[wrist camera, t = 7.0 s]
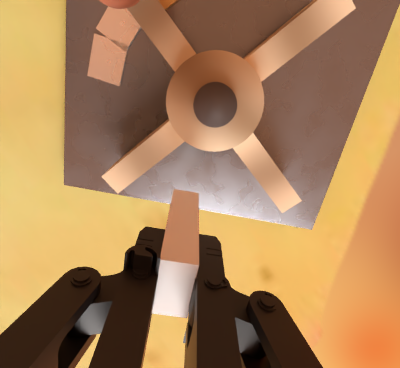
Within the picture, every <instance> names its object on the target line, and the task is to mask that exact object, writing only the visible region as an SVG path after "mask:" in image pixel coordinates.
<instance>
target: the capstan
mask: <svg viewBox="0 0 400 368" xmlns="http://www.w3.org/2000/svg"><path fill="white" fill-rule="evenodd" d="M99 1H100V2H102V3H103V4H105V5H107V6H109V7H112V8H115V9H126V8H127V9H128V11H129V12H130V13H131V14H132V16H133V17H134V18H135V20H136V21H137V22H138V24H139V25H140V26H141V28H142V29H143V30H144V32H145V33H146V34H147V36H148V37H149V38H150V40H151V41H152V42H153V44H154V45H155V46H156V47H157V49H158V50H159V51H160V53H161V54H162V55H163V57H164V58H165V59H166V61H167V62H168V63H169V65H170V66H171V67H172V69H173V70H174V71H175V73H174V75H173V76H172V78H171V80H170V83H169V86H168V89H167V95H166V109H167V114H168V118H169V119H168V120H166V121H165V122H164V123H163V124H162V125H160V126H159V127H158V128H157V129H155V130H154V131H153V132H152V133H151V134H149V135H148V136H147V137H146V138H144V139H143V140H142V141H141V142H140V143H138V144H137V145H136V146H135V147H134V148H132V149H131V150H130V151H129V152H127V153H126V154H125V155H124V156H123V157H121V158H120V159H119V160H118V161H116V162H115V163H114V164H113V165H112V167H111V168H110V169H109V170H108V171H107V172H106V173H105V174H104V175H103V176H102V178H103V179H104V180H105V181H106V182H107V183H108V184H109V185H110V186H111V187H112V188H113V189H114V190H115V191H116V192H117V194H118V193H119V192H121V191H122V190H123V189H125V188H126V187H127V186H128V185H130V184H131V183H132V182H134V181H135V180H136V179H137V178H139V177H140V176H141V175H143V174H144V173H145V172H146V171H148V170H149V169H150V168H152V167H153V166H154V165H155V164H157V163H158V162H159V161H160V160H162V159H163V158H164V157H166V156H167V155H168V154H169V153H171V152H172V151H173V150H175V149H176V148H177V147H178V146H180V145H181V144H182V143H184V142H186V143H188V144H189V145H191V146H193V147H195V148H197V149H200V150H204V151H212V152H216V151H224V150H228V149H231V148H233V149H234V151H235V152H236V153H237V154H238V156H239V157H240V158H241V160H242V161H243V162H244V164H245V165H246V166H247V168H248V169H249V170H250V172H251V173H252V174H253V176H254V177H255V178H256V180H257V181H258V182H259V184H260V185H261V186H262V187H263V189H264V190H265V191H266V193H267V194H268V195H269V197H270V198H271V199H272V201H273V202H274V203H275V205H276V206H277V207H278V209H279V210H280V211H281V213H284V212H285V211H287V210H288V209H290V208H291V207H293V206H295V205H296V204H298V203H299V202H301V201H302V200H301V199H300V197H299V196H298V195H297V193H296V192H295V190H294V189H293V188H292V186H291V185H290V184H289V182H288V181H287V179H286V178H285V177H284V175H283V174H282V172H281V171H280V170H279V168H278V167H277V165H276V164H275V163H274V161H273V160H272V158H271V157H270V156H269V154H268V153H267V151H266V150H265V149H264V147H263V146H262V144H261V143H260V142H259V140H258V139H257V138H256V136H255V135H254V133H253V132H254V130H255V129H256V127H257V126H258V124H259V122H260V119H261V117H262V113H263V108H264V92H263V87H262V83H261V82H262V81H263V80H264V79H266V78H267V77H268V76H270V75H271V74H272V73H273V72H275V71H276V70H277V69H279V68H280V67H281V66H282V65H284V64H285V63H286V62H288V61H289V60H290V59H291V58H293V57H294V56H295V55H297V54H298V53H299V52H300V51H302V50H303V49H304V48H306V47H307V46H308V45H309V44H311V43H312V42H313V41H315V40H316V39H317V38H318V37H320V36H321V35H322V34H323V33H325V32H326V31H327V30H329V29H330V28H331V27H332V26H334V25H335V24H336V23H338V22H339V21H340V20H341V19H343V18H344V17H345V16H347V15H348V14H349V13H350V12H352V11H353V10H354V9H356V7H355V5H354V3H353V1H352V0H313V1H312V2H311V3H309V4H308V5H307V6H306V7H304V8H303V9H302V10H301V11H300V12H298V13H297V14H296V15H295V16H293V17H292V18H291V19H290V20H289V21H287V22H286V23H285V24H284V25H282V26H281V27H280V28H279V29H278V30H276V31H275V32H274V33H273V34H271V35H270V36H269V37H268V38H267V39H265V40H264V41H263V42H262V43H261V44H259V45H258V46H257V47H256V48H254V49H253V50H252V51H251V52H250V53H248V54H247V55H246V56H245V57H243V58H242V57H240V56H238V55H236V54H234V53H231V52H228V51H223V50H209V51H204V52H201V53H198V54H196V52H195V51H194V50H193V48H192V47H191V46H190V44H189V43H188V41H187V40H186V39H185V37H184V36H183V34H182V33H181V32H180V30H179V29H178V27H177V26H176V25H175V23H174V22H173V20H172V19H171V18H170V16H169V15H168V13H167V12H166V11H165V9H164V8H163V6H162V5H161V4H160V2H159V1H158V0H99Z"/></svg>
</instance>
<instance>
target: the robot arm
mask: <svg viewBox="0 0 400 368" xmlns="http://www.w3.org/2000/svg"><path fill="white" fill-rule="evenodd" d="M188 312H189V315H188ZM152 313H153V314H160V315H168V316H176V317H183V318H187V317H188V323H187V328H186V332H185V336H184V341H183V343H185V363H184V368H323V367H322V365H321V364H320V362H319V361H318V359H317V357H316V356H315V354H314V353H313V351H312V350H311V348H310V346H309V345H308V343H307V342H306V340H305V338H304V337H303V335H302V334H301V332H300V330H299V329H298V327H297V326H296V324H295V322H294V321H293V319H292V318H291V316H290V315H289V313H288V311H287V310H286V308H285V307H284V305H283V303H282V302H281V301H280V300H279V299H278V298H277V297H276V296H274V295H273V294H271V293H269V292H266V291H255V292H253V293H252V294H251V295H250V297H249V296H247V295H244V294H242V293H239V292H237V291H235V290H234V289H233V288H231V287H230V283H229V281H228V280H227V279H226V278H225V273H224V265H223V258H222V251H221V243H220V242H219V240H218V239H217V238H216V237H215V236H208V235H202V234H199V193H196V192H190V191H184V190H177V189H173V194H172V199H171V204H170V210H169V215H168V220H167V225H166V230H165V229H158V228H152V227H145V228H144V229H143V230H141V231H140V233H139V236H138V239H137V241H136V245H135V246H133V247H131V248H129V249H128V250H127V251H126V253H125V260H124V270H123V271H122V272H120V273H118V274H115V275H110V276H101V275H100V273H99V272H98V271H97V270H95V269H93V268H90V267H77V268H74V269H71V270H70V271H68V272H67V273H65V274H64V275H63V276H62V277H61V278H60V279H59V280H58V281H57V282H56V283H55V284H53V285H52V286H51V287H50V288H49V289H48V290H47V291H46V292H45V293H44V294H43V295H42V296H41V297H40V298H39V299H38V300H37V301H36V302H34V303H33V304H32V305H31V306H30V307H29V308H28V309H27V310H26V311H25V312H24V313H23V314H22V315H21V316H20V317H19V318H18V319H17V320H15V321H14V322H13V323H12V324H11V325H10V326H9V327H8V328H7V329H6V330H5V331H4V332H3V333H2V334H1V335H0V368H75V367H76V365H77V364H78V362H79V361H80V359H81V358H82V356H83V355H84V353H85V352H86V350H87V349H88V347H89V346H90V344H91V343H92V342H93V340H94V339H95V337H96V334H100V333H101V335H100V338H99V340H98V343H97V346H96V349H95V351H94V354H93V357H92V360H91V363H90V365H89V368H142V366H143V361H144V355H145V349H146V344H147V338H148V333H149V327H150V322H151V315H152Z"/></svg>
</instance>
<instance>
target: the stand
mask: <svg viewBox="0 0 400 368" xmlns="http://www.w3.org/2000/svg"><path fill="white" fill-rule="evenodd" d="M158 1H159V2H160V4H161V5H162V6H163V8H164V9H165V11H166V12H167V13H168V15H169V16H170V18H171V19H172V20H173V22H174V23H175V25H176V26H177V27H178V29H179V30H180V32H181V33H182V34H183V36H184V37H185V39H186V40H187V41H188V43H189V44H190V46H191V47H192V48H193V50H194V51H195V52H196V54H198V53H201V52H204V51H209V50H223V51H228V52H231V53H234V54H236V55H238V56H240V57H242V58H243V57H245V56H246V55H247V54H248V53H250V52H251V51H252V50H253V49H254V48H256V47H257V46H258V45H259V44H261V43H262V42H263V41H264V40H265V39H267V38H268V37H269V36H270V35H271V34H273V33H274V32H275V31H276V30H278V29H279V28H280V27H281V26H282V25H284V24H285V23H286V22H287V21H289V20H290V19H291V18H292V17H293V16H295V15H296V14H297V13H298V12H300V11H301V10H302V9H303V8H304V7H306V6H307V5H308V4H309V3H311V2H312V1H313V0H158ZM352 1H353V3H354V5H355V7H356V9H354V10H353V11H352V12H350V13H349V14H348V15H347V16H345V17H344V18H343V19H341V20H340V21H339V22H338V23H336V24H335V25H334V26H332V27H331V28H330V29H329V30H327V31H326V32H325V33H323V34H322V35H321V36H320V37H318V38H317V39H316V40H315V41H313V42H312V43H311V44H309V45H308V46H307V47H306V48H304V49H303V50H302V51H300V52H299V53H298V54H297V55H295V56H294V57H293V58H291V59H290V60H289V61H288V62H286V63H285V64H284V65H282V66H281V67H280V68H279V69H277V70H276V71H275V72H273V73H272V74H271V75H270V76H268V77H267V78H266V79H264V80H263V81H262V82H261V83H262V87H263V92H264V108H263V113H262V117H261V119H260V122H259V124H258V126H257V127H256V129H255V130H254V132H253V133H254V135H255V136H256V138H257V139H258V140H259V142H260V143H261V144H262V146H263V147H264V149H265V150H266V151H267V153H268V154H269V156H270V157H271V158H272V160H273V161H274V163H275V164H276V165H277V167H278V168H279V170H280V171H281V172H282V174H283V175H284V177H285V178H286V179H287V181H288V182H289V184H290V185H291V186H292V188H293V189H294V190H295V192H296V193H297V195H298V196H299V197H300V199H301V200H302V201H301V202H299V203H298V204H296V205H295V206H293V207H291V208H290V209H288V210H287V211H285V212H284V213H281V211H280V210H279V209H278V207H277V206H276V205H275V203H274V202H273V201H272V199H271V198H270V197H269V195H268V194H267V193H266V191H265V190H264V189H263V187H262V186H261V185H260V184H259V182H258V181H257V180H256V178H255V177H254V176H253V174H252V173H251V172H250V170H249V169H248V168H247V166H246V165H245V164H244V162H243V161H242V160H241V158H240V157H239V156H238V154H237V153H236V152H235V151H234V149H233V148H231V149H228V150H224V151H216V152H212V151H204V150H200V149H197V148H195V147H193V146H191V145H189V144H188V143H186V142H184V143H182V144H181V145H180V146H178V147H177V148H176V149H175V150H173V151H172V152H171V153H169V154H168V155H167V156H166V157H164V158H163V159H162V160H160V161H159V162H158V163H157V164H155V165H154V166H153V167H152V168H150V169H149V170H148V171H146V172H145V173H144V174H143V175H141V176H140V177H139V178H137V179H136V180H135V181H134V182H132V183H131V184H130V185H128V186H127V187H126V188H125V189H123V190H122V191H121V192H119V193H118V195H123V196H129V197H134V198H140V199H146V200H151V201H157V202H162V203H168V204H171V199H172V194H173V189H177V190H184V191H190V192H196V193H199V209H201V210H206V211H212V212H217V213H223V214H228V215H234V216H240V217H245V218H251V219H256V220H262V221H267V222H273V223H278V224H284V225H289V226H295V227H300V228H306V229H311V230H312V228H313V225H314V223H315V220H316V218H317V215H318V213H319V210H320V207H321V205H322V202H323V200H324V197H325V195H326V192H327V189H328V187H329V184H330V182H331V179H332V177H333V174H334V171H335V169H336V166H337V164H338V161H339V159H340V156H341V153H342V151H343V148H344V146H345V143H346V140H347V138H348V135H349V133H350V130H351V128H352V125H353V122H354V120H355V117H356V115H357V112H358V110H359V107H360V104H361V102H362V99H363V97H364V94H365V92H366V89H367V86H368V84H369V81H370V79H371V76H372V74H373V71H374V68H375V66H376V63H377V61H378V58H379V56H380V53H381V50H382V48H383V45H384V43H385V40H386V38H387V35H388V32H389V30H390V27H391V25H392V22H393V19H394V17H395V14H396V12H397V9H398V7H399V4H400V0H352ZM174 73H175V71H174V70H173V69H172V67H171V66H170V65H169V63H168V62H167V61H166V59H165V58H164V57H163V55H162V54H161V53H160V51H159V50H158V49H157V47H156V46H155V45H154V44H153V42H152V41H151V40H150V38H149V37H148V36H147V34H146V33H145V32H144V30H143V29H142V28H141V26H140V25H139V24H138V22H137V21H136V20H135V18H134V17H133V16H132V14H131V13H130V12H129V11H128V9H127V8H126V9H115V8H112V7H109V6H107V5H105V4H103V3H102V2H100V1H99V0H67V1H66V73H65V144H64V185H68V186H74V187H79V188H85V189H90V190H96V191H101V192H107V193H112V194H117V192H116V191H115V190H114V189H113V188H112V187H111V186H110V185H109V184H108V183H107V182H106V181H105V180H104V179H103V178H102V176H103V175H104V174H105V173H106V172H107V171H108V170H109V169H110V168H111V167H112V165H113V164H114V163H115V162H116V161H118V160H119V159H120V158H121V157H123V156H124V155H125V154H126V153H127V152H129V151H130V150H131V149H132V148H134V147H135V146H136V145H137V144H138V143H140V142H141V141H142V140H143V139H144V138H146V137H147V136H148V135H149V134H151V133H152V132H153V131H154V130H155V129H157V128H158V127H159V126H160V125H162V124H163V123H164V122H165V121H166V120H168V119H169V118H168V114H167V109H166V95H167V89H168V86H169V83H170V80H171V78H172V76H173V75H174Z"/></svg>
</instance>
